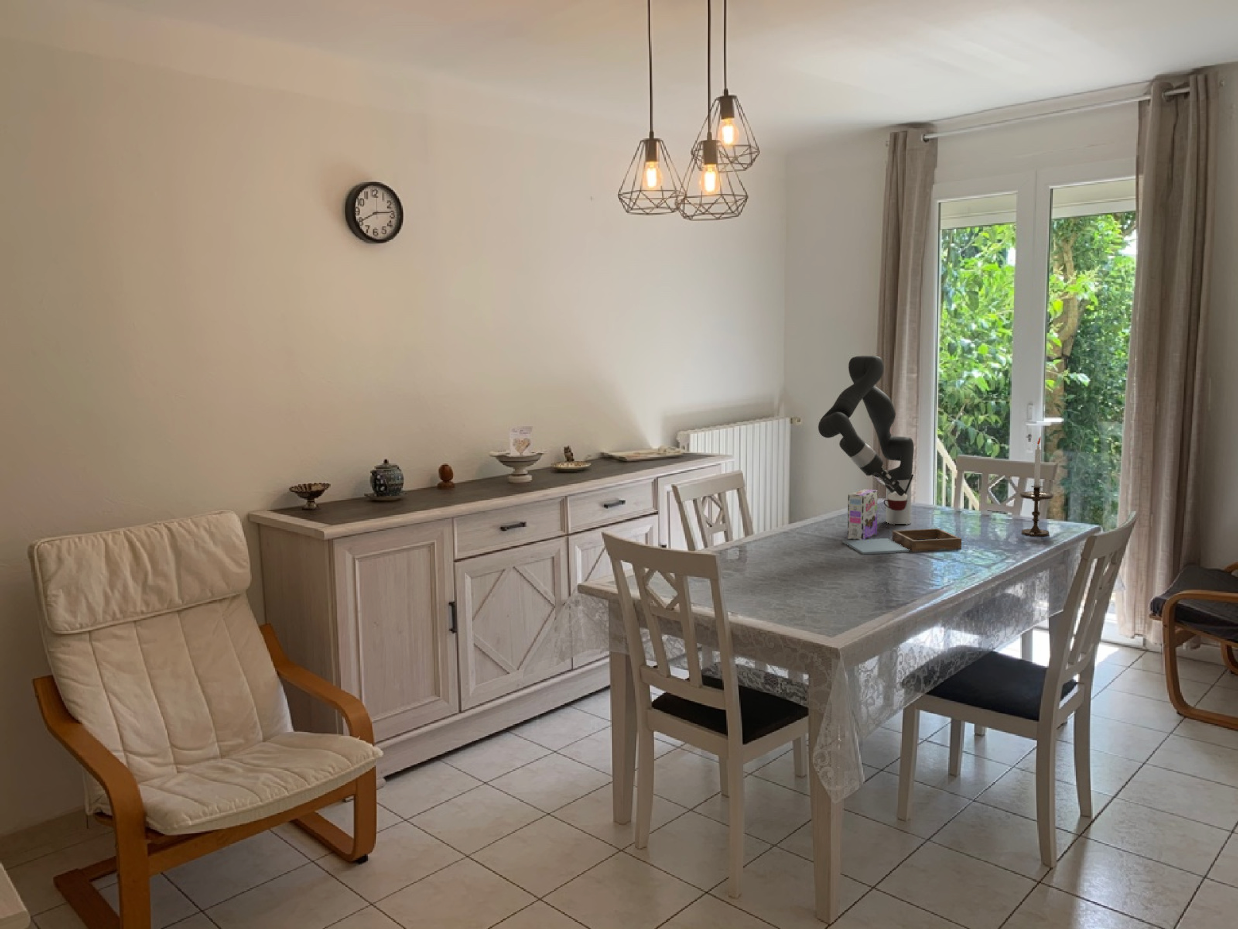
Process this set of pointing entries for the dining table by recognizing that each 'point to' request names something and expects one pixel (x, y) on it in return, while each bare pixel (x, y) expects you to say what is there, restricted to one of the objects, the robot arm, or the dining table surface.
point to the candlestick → (1036, 497)
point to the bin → (910, 540)
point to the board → (876, 546)
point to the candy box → (862, 514)
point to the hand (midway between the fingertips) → (898, 492)
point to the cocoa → (898, 499)
